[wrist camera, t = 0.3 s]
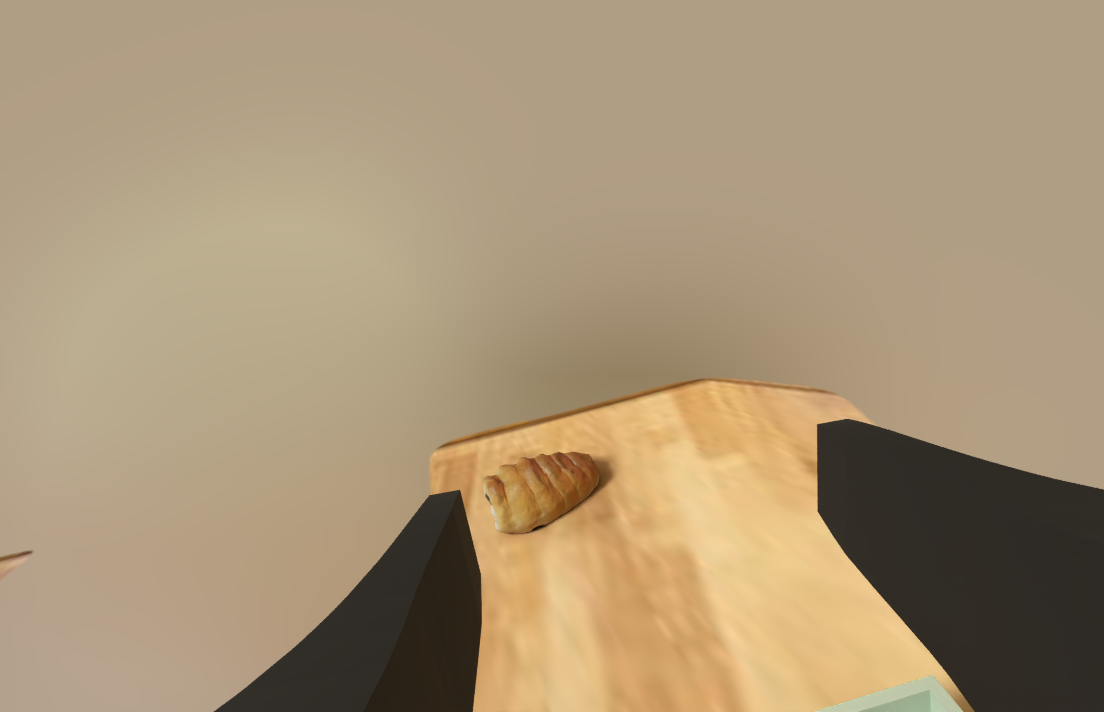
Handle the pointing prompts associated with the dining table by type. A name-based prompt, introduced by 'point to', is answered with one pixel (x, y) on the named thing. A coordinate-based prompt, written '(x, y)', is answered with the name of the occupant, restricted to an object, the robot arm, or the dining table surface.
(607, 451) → the dining table surface
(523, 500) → the pastry
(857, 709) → the bin
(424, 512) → the robot arm
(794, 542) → the dining table surface
